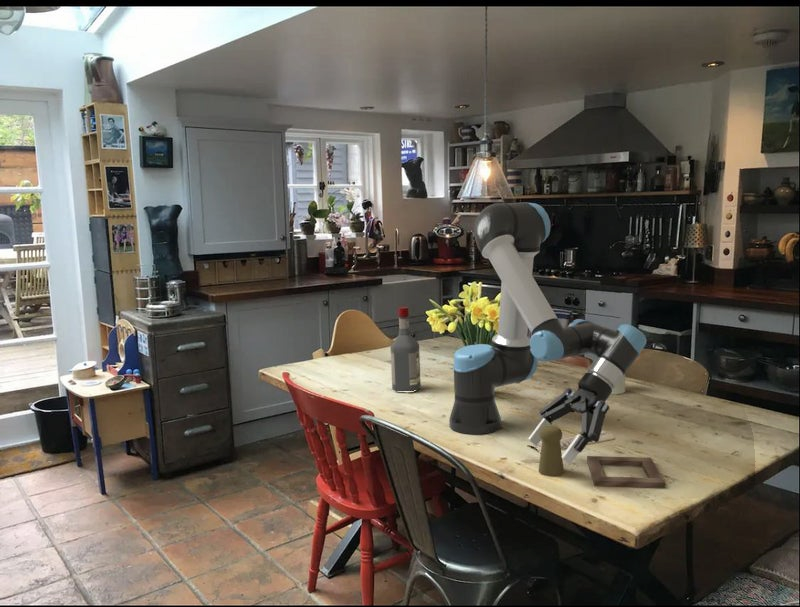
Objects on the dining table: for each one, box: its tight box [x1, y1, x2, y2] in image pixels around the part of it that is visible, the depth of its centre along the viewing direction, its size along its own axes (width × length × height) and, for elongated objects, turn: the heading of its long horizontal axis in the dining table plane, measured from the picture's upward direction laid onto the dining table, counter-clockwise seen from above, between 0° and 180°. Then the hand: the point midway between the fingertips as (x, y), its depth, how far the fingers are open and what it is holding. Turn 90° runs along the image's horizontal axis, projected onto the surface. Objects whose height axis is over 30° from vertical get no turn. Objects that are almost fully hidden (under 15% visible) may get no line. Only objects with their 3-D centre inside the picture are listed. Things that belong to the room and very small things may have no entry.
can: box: [610, 373, 626, 395], centre depth 218 cm, size 9×9×12 cm
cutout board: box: [586, 455, 666, 489], centre depth 149 cm, size 15×15×1 cm
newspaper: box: [526, 430, 615, 455], centre depth 170 cm, size 24×7×2 cm, turn 111°
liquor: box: [390, 306, 422, 391], centre depth 228 cm, size 9×9×30 cm
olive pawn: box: [538, 425, 565, 477], centre depth 152 cm, size 6×6×11 cm
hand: (548, 451), depth 151 cm, fingers open, 13 cm apart
